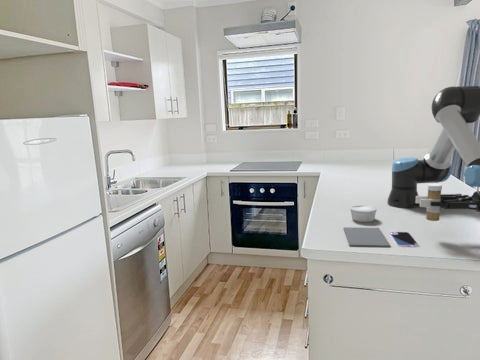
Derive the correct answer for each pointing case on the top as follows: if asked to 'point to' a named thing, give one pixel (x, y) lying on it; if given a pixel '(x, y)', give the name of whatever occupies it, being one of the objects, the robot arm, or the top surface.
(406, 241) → the mobile phone
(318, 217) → the top surface
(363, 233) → the charcoal mat
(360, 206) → the ramekin
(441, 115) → the robot arm
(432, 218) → the sprinkles bottle
